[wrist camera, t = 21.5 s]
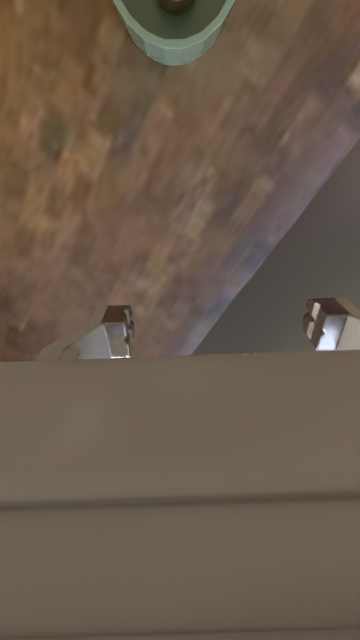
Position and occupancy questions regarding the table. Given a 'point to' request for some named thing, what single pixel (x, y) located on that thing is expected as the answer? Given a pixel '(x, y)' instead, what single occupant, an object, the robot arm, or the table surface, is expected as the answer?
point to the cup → (173, 28)
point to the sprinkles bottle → (176, 6)
